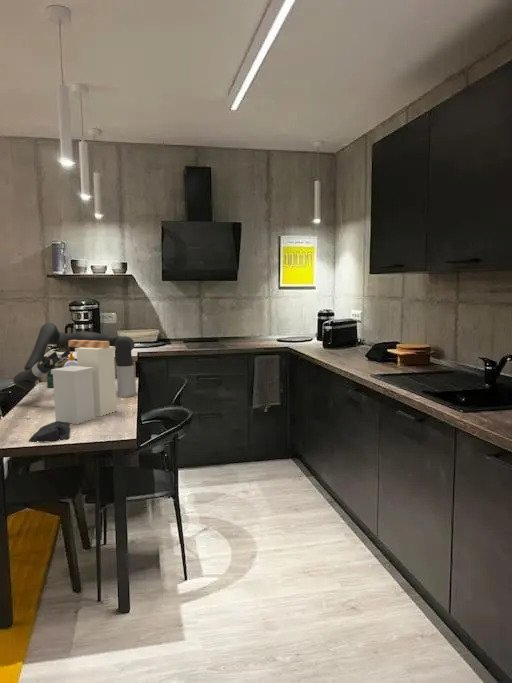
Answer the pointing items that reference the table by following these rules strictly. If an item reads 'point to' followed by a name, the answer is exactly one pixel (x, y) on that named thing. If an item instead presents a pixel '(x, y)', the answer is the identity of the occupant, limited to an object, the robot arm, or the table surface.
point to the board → (88, 344)
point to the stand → (100, 376)
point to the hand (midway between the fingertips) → (62, 352)
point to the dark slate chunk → (52, 432)
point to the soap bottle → (71, 361)
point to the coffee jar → (50, 376)
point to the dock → (73, 394)
